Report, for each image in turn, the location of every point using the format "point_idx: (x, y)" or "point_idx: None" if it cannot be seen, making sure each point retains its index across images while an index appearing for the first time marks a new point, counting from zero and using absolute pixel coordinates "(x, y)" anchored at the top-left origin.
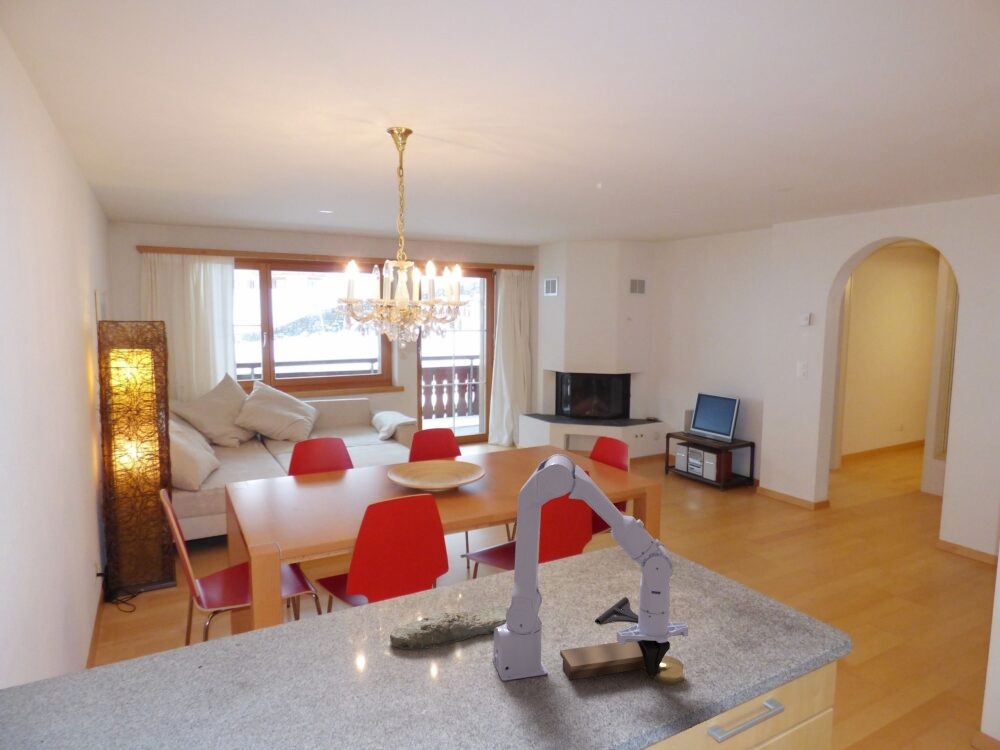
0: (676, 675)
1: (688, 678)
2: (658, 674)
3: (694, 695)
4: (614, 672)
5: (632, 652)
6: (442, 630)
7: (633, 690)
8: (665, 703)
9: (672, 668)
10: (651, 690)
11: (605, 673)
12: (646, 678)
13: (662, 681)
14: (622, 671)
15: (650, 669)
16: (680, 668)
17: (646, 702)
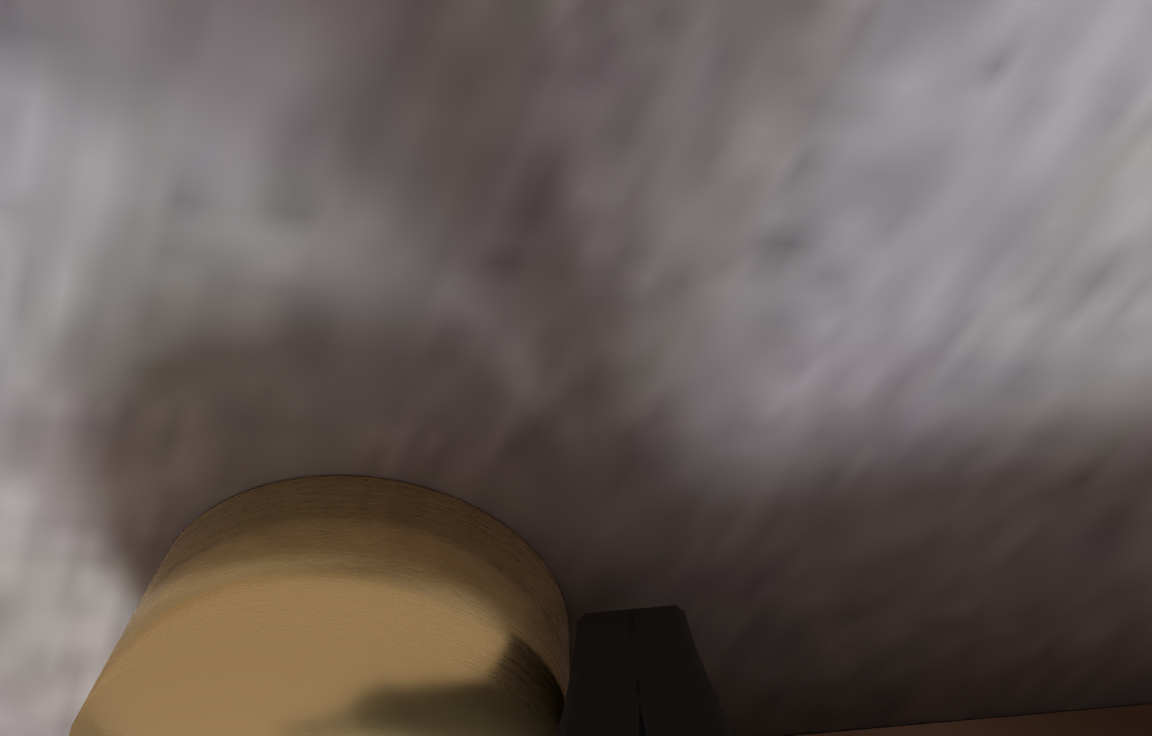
0: (246, 586)
1: (70, 568)
2: (532, 636)
3: (36, 199)
4: (999, 720)
5: None
6: None
7: (996, 422)
8: (669, 38)
9: (275, 714)
10: (729, 395)
11: (1122, 714)
12: None
13: (488, 534)
14: (889, 727)
15: (719, 715)
16: (127, 705)
17: (999, 116)
